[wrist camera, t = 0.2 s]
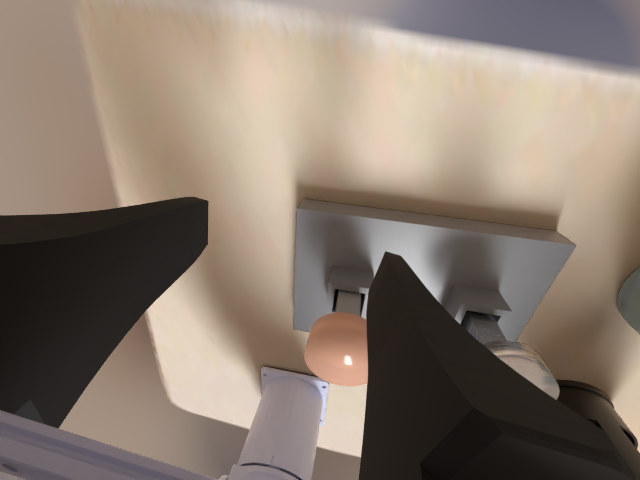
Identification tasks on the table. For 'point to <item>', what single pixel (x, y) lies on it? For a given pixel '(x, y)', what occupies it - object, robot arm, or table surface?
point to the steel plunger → (510, 351)
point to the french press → (601, 418)
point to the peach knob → (340, 343)
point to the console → (424, 261)
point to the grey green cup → (630, 300)
